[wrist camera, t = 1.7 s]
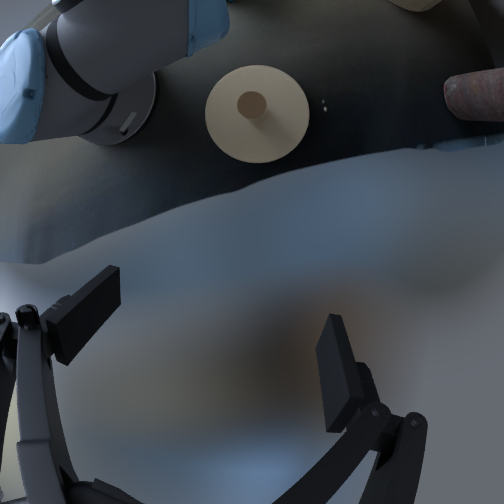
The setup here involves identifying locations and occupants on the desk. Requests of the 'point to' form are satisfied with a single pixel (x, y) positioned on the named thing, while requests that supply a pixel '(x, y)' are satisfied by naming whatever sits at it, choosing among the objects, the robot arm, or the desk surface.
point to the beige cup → (415, 4)
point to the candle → (476, 95)
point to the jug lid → (257, 114)
